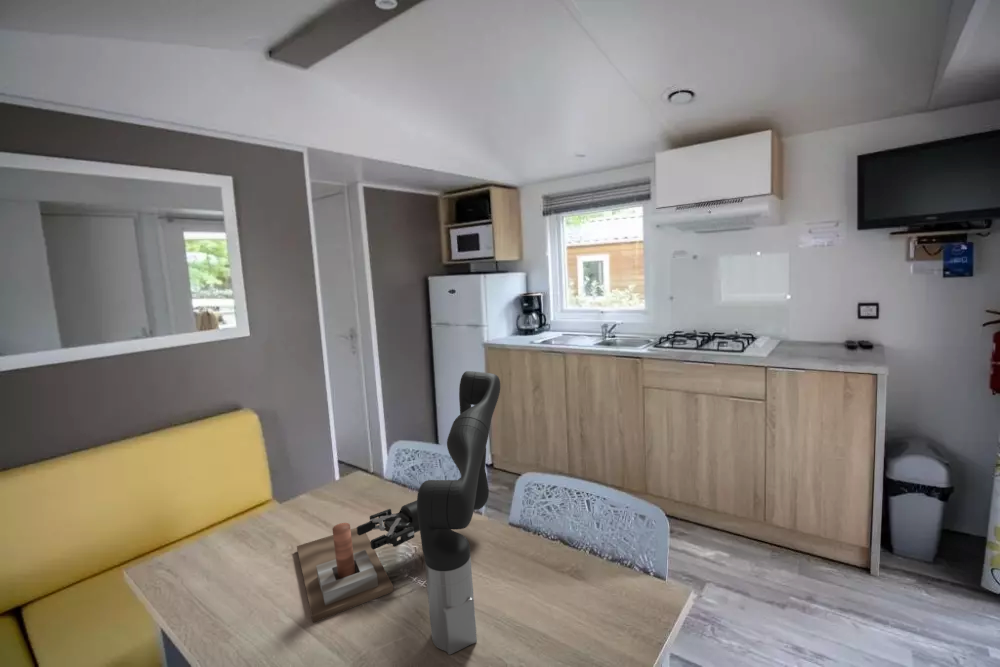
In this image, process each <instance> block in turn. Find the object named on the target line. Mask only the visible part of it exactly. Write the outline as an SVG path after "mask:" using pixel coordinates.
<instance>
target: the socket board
mask: <svg viewBox="0 0 1000 667" xmlns="http://www.w3.org/2000/svg"><path fill="white" fill-rule="evenodd" d="M350 529H351V538H352V547H353V556H354V565H355V573H356V574H353V575H350V576H347V577H344V578H342V579H339V580H338V572H337V563H336V555H335V546H334V538H333V534H331V535H328V536H325V537H322V538H319V539H315V540H312V541H309V542H305V543H302V544H299V545H296V550H297V555H298V560H299V564H300V568H301V573H302V578H303V583H304V586H305V587H304V588H305V591H306V596H307V601H308V605H309V610H310V615H311V619H312V623H316V622H318V621H322V620H324V619H326V618H330V617H331V616H334V615H336V614H339V613H341V612H344V611H348V610H350V609H352V608H354V607H355V608H356V607H358V606H360V605H362V604H366V603H367V602H368V603H369V602H370V601H373V600H376V599H378V598H380V597H381V598H382V597H383V596H385V595H388V593H389V594H391V593H393V591H394V585H393V583H392V581H391V579H390V577H389V575H388V574H387V571H386V569H385V568H384V565H383V564H382V562H381V560H380V557H379V556H378V553H377V552H376V549H372V548H371V543H370V542H371V540H370V538H369V537H368V534H367V533H364V534H362V535H358V534H357V527H354V528H350ZM390 592H391V593H390Z"/></svg>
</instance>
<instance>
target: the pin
mask: <svg viewBox="0 0 1000 667" xmlns="http://www.w3.org/2000/svg"><path fill="white" fill-rule="evenodd" d="M351 529H352V528H351V524H350V523H349V522H341V523H338V524H336V525H334V526H333V527H332V535H333V538H334V546H335V555H336V563H337V572H338V580H339V579H342V578H344V577H347V576H350V575H353V574H356V573H355V565H354V556H353V547H352V538H351Z"/></svg>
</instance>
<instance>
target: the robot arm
mask: <svg viewBox="0 0 1000 667" xmlns="http://www.w3.org/2000/svg"><path fill="white" fill-rule="evenodd" d="M458 389H459V390H458V391H459V392H458V396H459V397H458V400H459V415H458V416H457V417H456V418H455V419H454V421H453V422H452V425H451V427H450V430H449V432H448V436H447V440H446V446H447V451H448V453H449V456H450V458H451V459H452V462H453V463H454V464H455V466H456V467H457V469H458V472H459V474H460V477H459V478H458V479H428V480H426V481H425V480H424V481H423V482H422V483H421V485H420V486H419V488H418V492H417V497H416V500H415V501H411V502H410V503H406V504H404V505H402V506H401V507H400V510H399V512H397V513H396V512H395V513H392V509H391V508H389V509H385V510H382V511H380V512H377V513H373V514H371V515H369V521H367V522H365V523H363V524H360V525H358V526H357V527H356V528H357V534H358V535H362V534H364V533H366V534H367V533H368V532H371V531H373V530H379V531H381V532H384V531H385V532H387V533H386V534H382V535H379V536H378V537H375V538H373V539H371V540H370V543H371V548H372V549H374V550H376V549H379V548H381V547H383V546H385V545H388V546H390V545H392V547H395V548H396V547H398V546H400V545H402V544H404V543H406V542H408V541H410V540H412V539H414V538H415V533H418V532H419V534H420V539H421V540H420V541H421V547H422V548H421V549H422V553H423V557H424V565H425V566H424V567H425V577H426V578H425V579H426V589H427V600H428V612H429V622H430V633H431V641H432V643H433V644H434V646H435V647H436V648H438V649H440V650H441V651H445V652H446V653H447V654H448V655H452V654H455V653H456V652H458V651H460V650H463V649H465V648H466V647H468V646H469V647H470V646H471V645H474V644H476V643H477V640H478V639H477V624H476V611H475V596H474V586H473V572H472V571H473V570H472V558H471V547H470V546H471V545H470V543H469V540H468V539H467V537H466V536H464V535H463V534H461V533H459V532H457V531H454V530H463V529H466V528H467V527H469V525H470V523H471V521H472V518H473V514H474V510H475V511H479V510H481V509H483V508H484V506H485V505H486V504H487V502H488V499H489V496H490V495H489V494H490V490H489V488H490V487H489V482H488V476H487V472H486V463H487V462H486V460H487V459H486V458H487V444H488V439H489V435H490V429H491V425H492V424H491V423H492V418H493V415H494V412H495V409H496V406H497V403H498V401H499V398H500V397H499V396H500V394H501V381H500V377H499V376H498V375H497V374H495V373H492V372H483V371H482V372H480V371H469V370H466V371H464V372H463V373H462V375H461V378H460V381H459V388H458ZM398 538H399V539H398Z"/></svg>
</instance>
